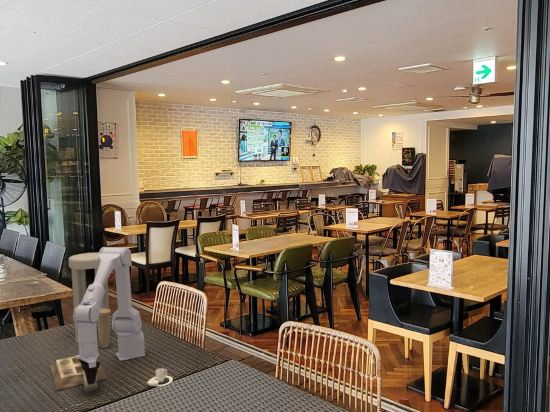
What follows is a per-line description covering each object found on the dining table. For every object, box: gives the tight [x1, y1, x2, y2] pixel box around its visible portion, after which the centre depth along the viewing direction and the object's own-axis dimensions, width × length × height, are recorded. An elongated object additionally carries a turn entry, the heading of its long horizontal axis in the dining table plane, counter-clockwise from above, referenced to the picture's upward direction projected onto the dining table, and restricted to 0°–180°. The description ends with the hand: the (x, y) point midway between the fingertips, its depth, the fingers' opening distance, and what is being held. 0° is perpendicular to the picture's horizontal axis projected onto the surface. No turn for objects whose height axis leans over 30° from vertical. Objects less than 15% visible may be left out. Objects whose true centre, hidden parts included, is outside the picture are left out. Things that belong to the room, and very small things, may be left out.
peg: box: [83, 370, 98, 393], centre depth 159 cm, size 4×4×7 cm
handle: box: [98, 308, 112, 349], centre depth 194 cm, size 5×6×15 cm
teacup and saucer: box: [146, 368, 173, 387], centre depth 164 cm, size 9×8×4 cm
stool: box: [68, 252, 111, 343], centre depth 205 cm, size 16×16×35 cm
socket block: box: [49, 356, 108, 392], centre depth 171 cm, size 16×22×3 cm
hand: (90, 380), depth 159 cm, fingers closed on peg, 4 cm apart
